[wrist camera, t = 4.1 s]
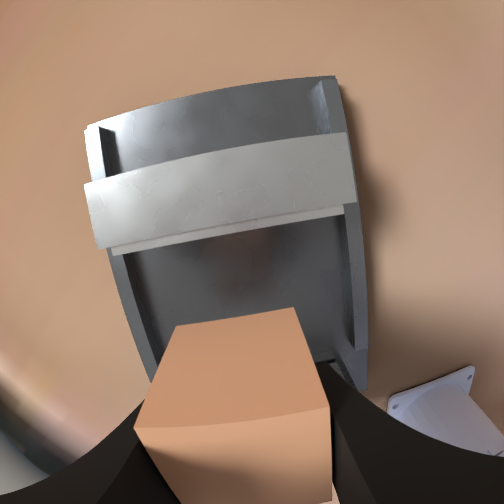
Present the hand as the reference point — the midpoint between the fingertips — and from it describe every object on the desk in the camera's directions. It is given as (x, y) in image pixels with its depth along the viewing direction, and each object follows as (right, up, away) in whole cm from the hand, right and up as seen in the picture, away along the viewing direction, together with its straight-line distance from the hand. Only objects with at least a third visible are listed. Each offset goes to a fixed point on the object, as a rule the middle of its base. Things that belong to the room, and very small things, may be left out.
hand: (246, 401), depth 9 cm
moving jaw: (-1, +7, +6) cm, 10 cm away
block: (0, +1, +2) cm, 2 cm away
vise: (0, +4, +8) cm, 9 cm away
